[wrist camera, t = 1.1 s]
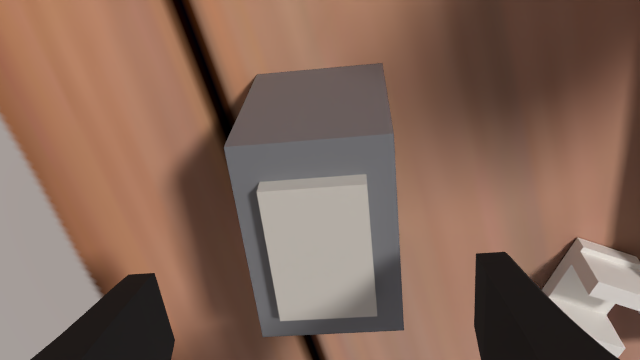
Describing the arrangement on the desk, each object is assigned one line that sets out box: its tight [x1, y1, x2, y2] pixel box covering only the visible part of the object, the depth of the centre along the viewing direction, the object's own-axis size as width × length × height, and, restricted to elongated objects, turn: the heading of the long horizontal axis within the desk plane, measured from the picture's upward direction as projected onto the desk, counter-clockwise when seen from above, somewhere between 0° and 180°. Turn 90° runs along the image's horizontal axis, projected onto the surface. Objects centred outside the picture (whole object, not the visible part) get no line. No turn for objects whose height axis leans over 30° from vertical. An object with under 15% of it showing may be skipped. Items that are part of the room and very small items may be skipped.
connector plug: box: [224, 63, 404, 337], centre depth 17 cm, size 6×4×6 cm, turn 6°
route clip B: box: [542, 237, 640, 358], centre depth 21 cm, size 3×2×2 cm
